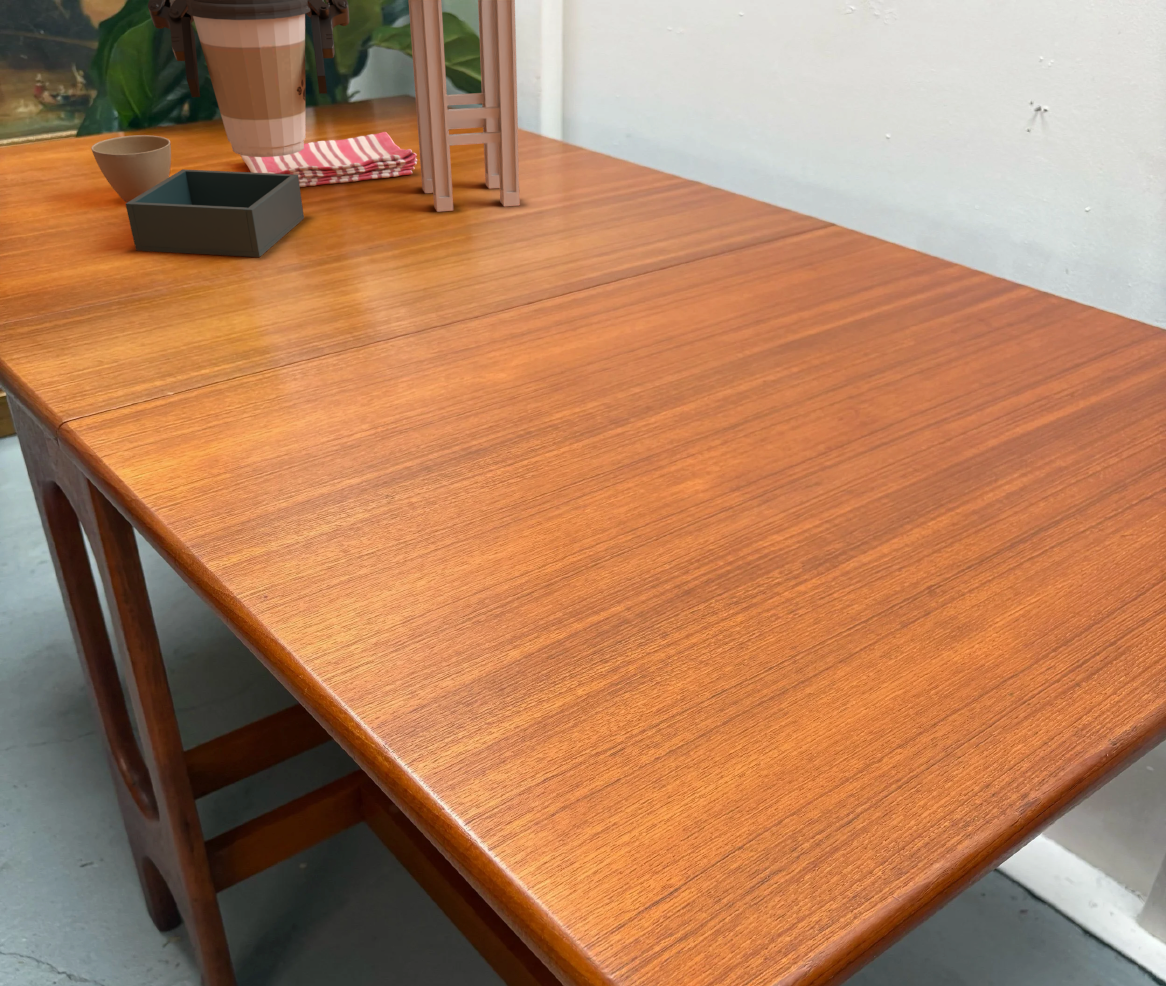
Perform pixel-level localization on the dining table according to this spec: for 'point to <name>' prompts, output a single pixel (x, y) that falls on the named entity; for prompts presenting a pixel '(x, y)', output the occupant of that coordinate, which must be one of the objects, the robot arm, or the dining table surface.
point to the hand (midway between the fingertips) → (258, 86)
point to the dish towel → (340, 161)
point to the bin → (216, 213)
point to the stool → (467, 101)
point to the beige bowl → (133, 163)
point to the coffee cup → (256, 70)
